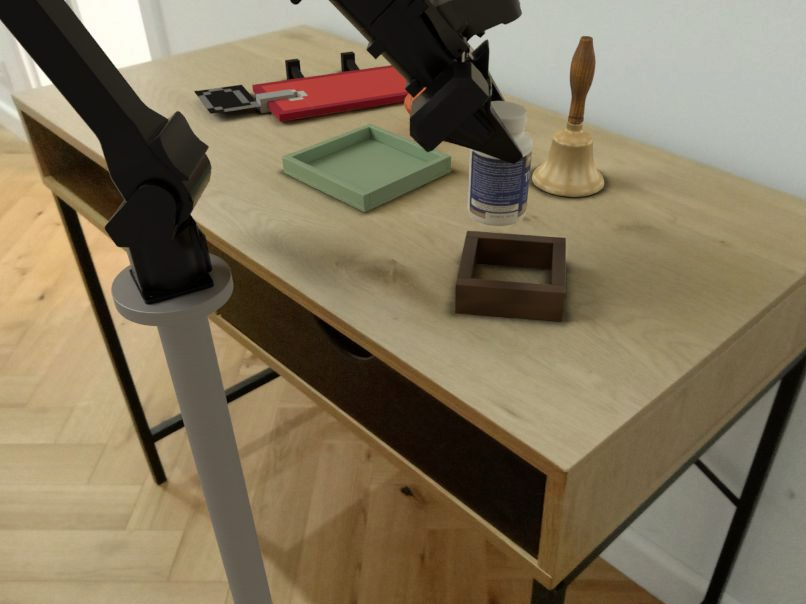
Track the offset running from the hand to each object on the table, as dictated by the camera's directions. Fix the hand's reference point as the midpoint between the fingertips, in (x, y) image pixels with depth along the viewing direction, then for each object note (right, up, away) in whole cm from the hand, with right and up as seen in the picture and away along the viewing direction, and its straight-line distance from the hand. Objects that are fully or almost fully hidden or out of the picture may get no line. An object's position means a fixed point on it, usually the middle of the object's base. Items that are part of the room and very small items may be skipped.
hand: (517, 145), depth 67 cm
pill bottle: (-2, -5, +4) cm, 7 cm away
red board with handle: (-25, +17, +41) cm, 52 cm away
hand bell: (+7, +2, +23) cm, 24 cm away
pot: (-8, +11, +33) cm, 36 cm away
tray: (-16, +3, +23) cm, 28 cm away
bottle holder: (0, -12, +5) cm, 13 cm away
